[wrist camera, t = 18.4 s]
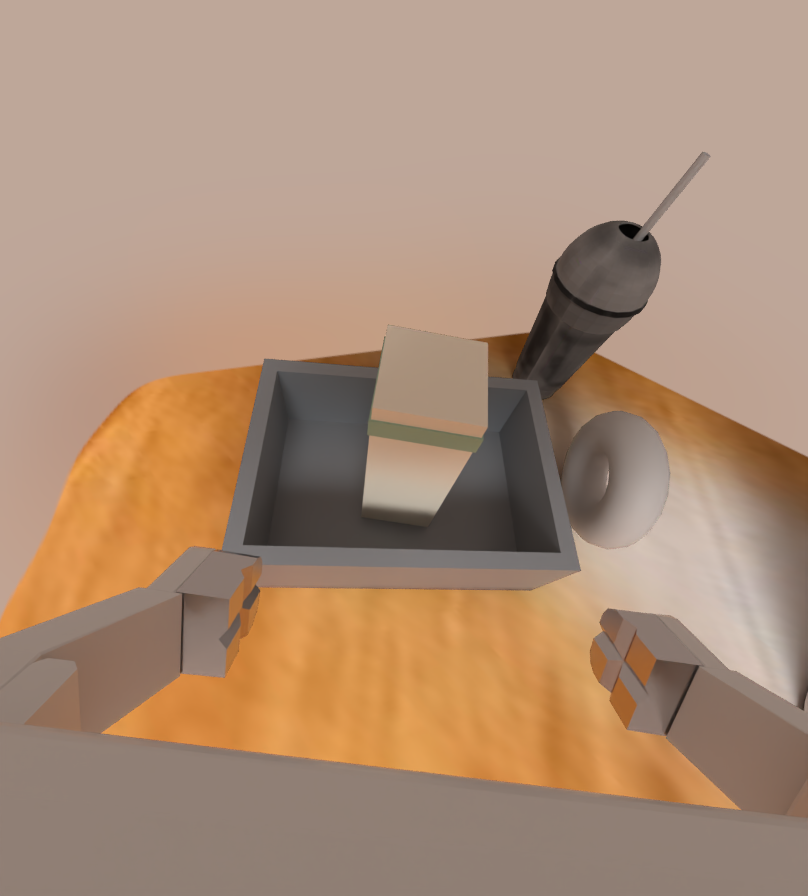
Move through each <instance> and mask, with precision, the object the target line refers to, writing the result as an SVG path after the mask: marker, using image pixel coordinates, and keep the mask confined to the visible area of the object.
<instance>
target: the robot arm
mask: <svg viewBox="0 0 808 896" xmlns="http://www.w3.org/2000/svg"><path fill="white" fill-rule="evenodd" d="M261 574H262V559H261V557H259V556H254V555H248V554H242V553H236V552H230V551H224V550H216V549H212V548H205V547H198V546H193V547H190V548H188V549H187V550H186V551H185V552H184V553H183V554H182V555H181V556H180V557H179V558H178V559H177V560H176V561H175V562H174V563H173V564H172V565H170V566H169V567H168V568H167V569H166V570H165V571H164V572H163V573H162V574H161V575H160V576H159V577H158V578H157V579H156V580H155V581H154V582H153V583H152V584H151V585H150V586H149V587H147V588H136V589H133V590H131V591H128V592H125V593H122V594H120V595H117V596H114V597H111V598H109V599H106V600H103V601H101V602H98V603H95V604H92V605H90V606H87V607H84V608H81V609H79V610H76V611H73V612H70V613H68V614H65V615H62V616H60V617H57V618H54V619H51V620H49V621H46V622H43V623H40V624H38V625H35V626H32V627H29V628H27V629H24V630H21V631H19V632H16V633H13V634H10V635H8V636H5V637H2V638H0V896H808V692H807V696H806V699H805V705H804V711H803V710H801V709H800V708H798V707H796V706H794V705H793V704H791V703H789V702H788V701H786V700H784V699H783V698H781V697H779V696H777V695H776V694H774V693H772V692H771V691H769V690H767V689H766V688H764V687H762V686H760V685H759V684H757V683H755V682H754V681H752V680H750V679H749V678H747V677H745V676H743V675H742V674H740V673H738V672H737V671H731V670H729V669H728V668H727V667H726V666H725V665H724V664H723V663H722V662H721V661H720V660H719V659H718V658H717V657H716V656H715V655H714V654H713V653H711V652H710V651H709V650H708V649H707V648H706V647H705V646H704V645H703V644H702V643H701V642H700V641H699V640H698V639H697V638H696V637H695V636H694V635H693V634H692V633H691V632H690V631H689V630H688V629H687V628H686V627H685V626H684V625H683V624H682V623H681V622H680V621H679V620H678V619H676V618H674V617H672V616H669V615H660V614H651V613H649V614H648V613H640V612H632V611H624V610H616V609H607V610H606V611H605V612H604V613H603V615H602V617H601V620H600V625H601V628H602V630H603V632H601V633H600V634H599V635H597V636H596V637H595V638H594V639H593V642H592V646H591V649H590V662H591V666H592V669H593V673H594V675H595V676H596V678H597V680H598V682H599V683H600V684H601V685H602V686H604V687H605V688H606V689H607V690H608V691H610V692H611V695H610V702H611V704H612V706H613V707H614V709H615V711H616V712H617V714H618V716H619V717H620V719H621V721H622V722H623V724H624V726H625V728H626V729H627V730H632V731H638V732H644V733H650V734H656V735H663V736H667V737H666V739H667V740H668V741H669V742H671V743H672V744H673V745H674V746H675V747H676V748H677V749H678V750H679V751H680V752H681V753H682V754H683V755H684V756H685V757H686V758H687V759H688V760H689V761H691V762H692V763H693V764H694V765H695V766H696V767H697V768H698V769H699V770H700V771H701V772H702V773H703V774H704V775H705V776H706V777H707V778H708V779H709V780H711V781H712V782H713V783H714V784H715V785H716V786H717V787H718V788H719V789H720V790H721V791H722V792H723V793H724V794H725V795H726V796H727V797H728V798H729V799H731V800H732V801H733V802H734V803H735V804H736V805H737V806H738V807H739V808H740V809H741V810H735V809H726V808H718V807H710V806H701V805H693V804H685V803H677V802H669V801H660V800H652V799H644V798H636V797H628V796H619V795H611V794H603V793H595V792H587V791H578V790H570V789H562V788H553V787H545V786H537V785H528V784H520V783H511V782H503V781H494V780H486V779H478V778H469V777H461V776H452V775H444V774H435V773H427V772H419V771H410V770H402V769H393V768H385V767H376V766H368V765H360V764H351V763H343V762H334V761H326V760H318V759H309V758H301V757H293V756H284V755H276V754H267V753H259V752H251V751H242V750H234V749H226V748H217V747H209V746H200V745H192V744H184V743H175V742H167V741H159V740H150V739H142V738H133V737H125V736H117V735H108V734H100V733H102V732H103V731H104V730H106V729H107V728H109V727H110V726H111V725H113V724H114V723H115V722H117V721H118V720H120V719H121V718H122V717H124V716H125V715H127V714H128V713H129V712H131V711H132V710H133V709H135V708H136V707H138V706H139V705H140V704H142V703H143V702H145V701H146V700H147V699H149V698H150V697H151V696H153V695H154V694H156V693H157V692H158V691H160V690H161V689H163V688H164V687H165V686H167V685H168V684H169V683H171V682H172V681H174V680H175V679H176V678H178V677H179V676H180V673H183V674H193V675H203V676H213V677H223V678H225V676H226V674H227V673H228V671H229V669H230V667H231V665H232V663H233V661H234V659H235V658H236V656H237V654H238V652H239V644H240V639H242V638H243V637H245V636H247V635H248V633H249V631H250V629H251V627H252V625H253V622H254V619H255V616H256V613H257V609H258V604H259V598H260V590H259V588H258V587H257V585H256V583H257V581H258V579H259V578H260V576H261Z"/></svg>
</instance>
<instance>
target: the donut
mask: <svg viewBox="0 0 808 896" xmlns="http://www.w3.org/2000/svg"><path fill="white" fill-rule="evenodd" d="M608 471H609V481H608V485H607V488H606V482H607V475H608ZM669 480H670V469H669V463H668V456H667V452H666V449H665V447H664V445H663V443H662V441H661V438H660V436H659V434H658V432H657V431H656V430H655V429H654V428H653V427H652V426H651V425H650V424H649V423H648V422H647V421H646V420H644V419H643V418H642V417H640V416H636V415H633V414H630V413H627V412H623V411H612V412H608V413H604V414H600V415H597V416H595V417H594V418H593V419H591V420H590V421H589V422H587V423H586V424H585V425H584V426H582V427H581V429H580V430H579V431H578V433H577V434H576V435H575V437H574V438H573V440H572V443H571V445H570V447H569V449H568V451H567V454H566V458H565V462H564V466H563V472H562V480H561V486H562V490H563V495H564V499H565V504H566V508H567V512H568V517H569V521H570V525H571V526H572V528H573V529H574V530H575V531H576V532H577V533H578V535H579V536H580V537H581V538H582V539H584V540H585V541H586V542H588V543H590V544H593V545H596V546H598V547H601V548H605V549H616V548H622V547H628V546H630V545H632V544H634V543H636V542H637V541H639V540H640V539H641V538H643V537H644V536H646V535H647V534H648V533H649V531H650V530H651V529H652V527H653V526H654V524H655V523H656V521H657V520H658V519H659V517H660V516H661V514H662V511H663V508H664V505H665V502H666V499H667V497H668V490H669Z"/></svg>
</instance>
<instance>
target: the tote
mask: <svg viewBox="0 0 808 896" xmlns="http://www.w3.org/2000/svg"><path fill="white" fill-rule="evenodd" d="M377 373H378V368H374V367H362V366H349V365H337V364H324V363H312V362H300V361H287V360H275V359H264V363H263V367H262V372H261V376H260V381H259V385H258V390H257V394H256V399H255V403H254V408H253V412H252V417H251V421H250V426H249V430H248V435H247V439H246V444H245V448H244V453H243V457H242V462H241V466H240V471H239V475H238V480H237V484H236V489H235V493H234V498H233V502H232V507H231V511H230V516H229V520H228V525H227V529H226V534H225V538H224V543H223V547H222V550H224V551H230V552H236V553H242V554H248V555H254V556H259V557H261V559H262V574H261V576H260V578H259V579H258V581H257V583H256V585H257V587H290V588H374V589H458V590H533V589H535V588H538V587H540V586H543V585H545V584H548V583H551V582H553V581H556V580H558V579H561V578H563V577H566V576H569V575H571V574H574V573H576V572H579V571H581V569H580V565H579V560H578V556H577V552H576V547H575V543H574V539H573V534H572V530H571V525H570V521H569V517H568V512H567V508H566V504H565V499H564V495H563V490H562V486H561V482H560V477H559V473H558V469H557V464H556V460H555V456H554V451H553V447H552V442H551V438H550V434H549V429H548V425H547V421H546V416H545V412H544V407H543V403H542V399H541V394H540V390H539V386H538V381H536V380H523V379H511V378H499V377H488V428H487V429H486V431H485V433H484V440H483V442H482V443H481V445H480V447H479V448H478V450H477V452H476V453H472V454H471V456H470V458H469V459H468V461H467V463H466V464H465V466H464V468H463V469H462V471H461V473H460V474H459V476H458V478H457V479H456V481H455V483H454V484H453V486H452V488H451V489H450V491H449V493H448V494H447V496H446V498H445V499H444V501H443V503H442V504H441V506H440V507H439V509H438V511H437V512H436V514H435V516H434V517H433V519H432V521H431V522H430V524H429V526H428V527H423V526H416V525H410V524H403V523H397V522H390V521H384V520H377V519H371V518H364V517H361V513H362V503H363V493H364V483H365V474H366V464H367V454H368V444H369V435H367V431H368V420H369V415H370V410H371V405H372V399H373V394H374V389H375V384H376V379H377Z"/></svg>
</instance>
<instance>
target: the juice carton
mask: <svg viewBox="0 0 808 896" xmlns="http://www.w3.org/2000/svg"><path fill="white" fill-rule="evenodd" d="M487 428H488V343H486V342H480V341H475V340H469V339H464V338H458V337H453V336H447V335H442V334H436V333H431V332H426V331H420V330H414V329H409V328H404V327H398V326H393V325H388V327H387V332H386V337H384V343H383V347H382V353H381V358H380V363H379V368H378V373H377V379H376V384H375V389H374V394H373V399H372V405H371V410H370V415H369V420H368V431H367V435H369V444H368V454H367V464H366V474H365V483H364V493H363V503H362V513H361V517H364V518H371V519H377V520H384V521H390V522H397V523H403V524H410V525H416V526H423V527H428V526H429V524H430V522H431V521H432V519H433V517H434V516H435V514H436V512H437V511H438V509H439V507H440V506H441V504H442V503H443V501H444V499H445V498H446V496H447V494H448V493H449V491H450V489H451V488H452V486H453V484H454V483H455V481H456V479H457V478H458V476H459V474H460V473H461V471H462V469H463V468H464V466H465V464H466V463H467V461H468V459H469V458H470V456H471V454H472V453H476V452H477V450H478V448H479V447H480V445H481V443H482V442H483V440H484V433H485V431H486V429H487Z"/></svg>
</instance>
